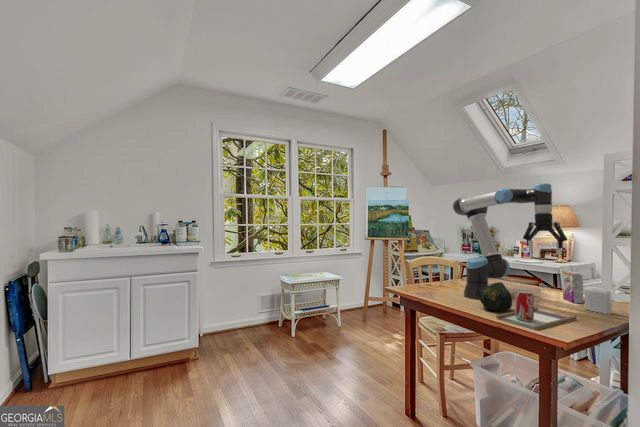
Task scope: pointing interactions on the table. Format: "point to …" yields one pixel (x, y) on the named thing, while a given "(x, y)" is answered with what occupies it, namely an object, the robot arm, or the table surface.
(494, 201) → the robot arm
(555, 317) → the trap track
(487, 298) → the squash
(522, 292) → the soda can
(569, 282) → the candy bar box
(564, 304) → the table surface
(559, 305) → the table surface
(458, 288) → the table surface
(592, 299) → the photo printer
